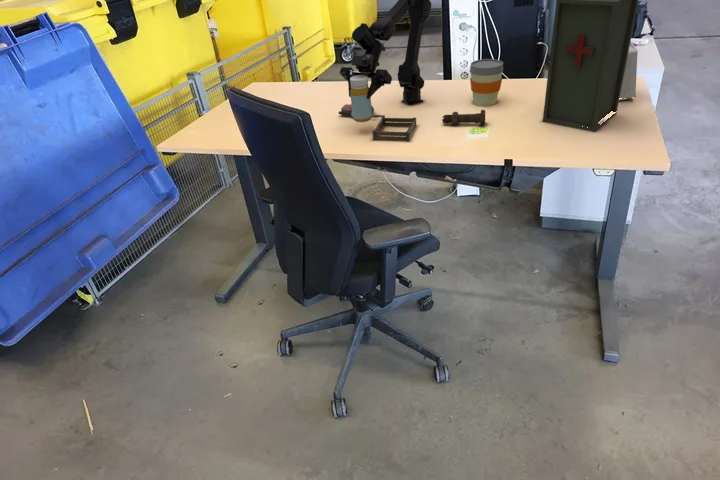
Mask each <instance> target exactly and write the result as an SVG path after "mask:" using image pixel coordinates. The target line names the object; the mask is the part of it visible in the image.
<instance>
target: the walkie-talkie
mask: <svg viewBox="0 0 720 480" xmlns="http://www.w3.org/2000/svg"><path fill="white" fill-rule="evenodd" d="M371 107H372V118H375V119H376V118H378V119H379V118H382V117H385V118H386V115H385V114H384V115H383V114H373V113H374V112H375V108H374V107H373V105H371ZM338 115H341V116H342V117H348V118H349V117H350V118H353V114H352V104H351V103H350V104H349V103H348V104H346V103H345V104H344V105H343V106H342V107H341V108H340V111H338Z"/></svg>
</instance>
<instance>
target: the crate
mask: <svg viewBox="0 0 720 480" xmlns="http://www.w3.org/2000/svg"><path fill="white" fill-rule="evenodd" d="M385 127H402V128H403V127H404V128H405V127H407V130H406V131H387V130H386V131H385V130H384V131H383V129H384V128H385ZM416 127H417V117H386V116H385V117H380V121H379V122H378V124H377V125H376V127H375V128H374V130H372V140H373V141H394V142H395V141H397V142H399V141H400V142H410V140H411V137H412V136H413V133H414V131H415V129H416Z"/></svg>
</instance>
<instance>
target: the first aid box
mask: <svg viewBox="0 0 720 480" xmlns="http://www.w3.org/2000/svg"><path fill="white" fill-rule="evenodd" d="M639 2H640V0H555V9H554V16H553V26H552V36H551V43H550V44H551V45H550V54H549V63H548V69H547V70H548V71H547V79H546V89H545V96H544V97H545V98H544V105H543V112H542V113H543V114H542V122H544V123H548V124H553V125H559V126H563V127H568V128H574V129H579V130H584V131H588V132H594V133H595V132H596V131H598V130H599V129H600V128H601V127H603V126H604V125H605V124H606V123H608V122H609V121H611V119H612V118H614V117H615V116H616V115H617V114H618V109H619V102H620V100H619V98H620V93H621V88H622V83H623V78H624V72H625V67H626V62H627V57H628V52H629V47H630V42H631V41H632V36H633V31H634V27H635V21H636V15H637V10H638V6H639ZM611 111H613V112H616V111H617V112H616V113H615V114H613V115H612V116H611V117H610V118H608V119H607V120H606V121H605V122H603V123H602V124H601V125H600V124H598V122H599V121H600V120H601V119H602V118H604V117H605V116H606V115H607V114H609V113H610V112H611ZM582 126H583V127H582ZM587 127H588V128H587Z"/></svg>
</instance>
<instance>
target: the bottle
mask: <svg viewBox="0 0 720 480" xmlns="http://www.w3.org/2000/svg"><path fill="white" fill-rule="evenodd" d="M350 84H351V91H350V95H351V97H350V104H352V114H353V117H352V120H353V121H354V122H357V123H366V122H369V121H371V120H372V119H373V117H372V115H373V113H372V107H371V106H372V96H371V97H370V98H369V99H367V93H368V90H369V87H370V86H369V78H368V77H367V76H366V75H356V76H353V77H351V78H350Z"/></svg>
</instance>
